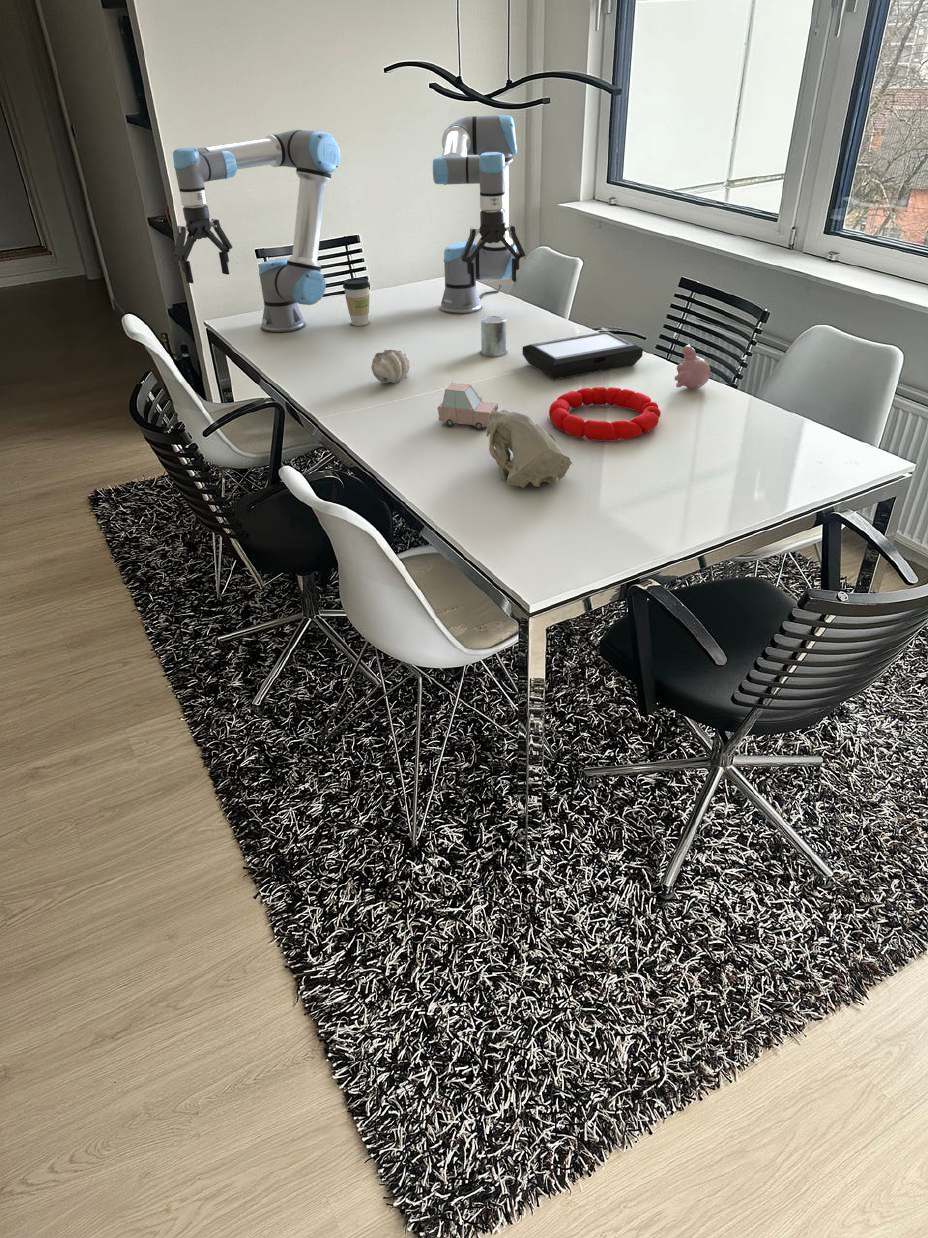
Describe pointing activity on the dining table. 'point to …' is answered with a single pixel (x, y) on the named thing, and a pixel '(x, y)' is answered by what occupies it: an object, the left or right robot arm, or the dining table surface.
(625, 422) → the decorative ring
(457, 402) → the toy car
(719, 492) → the dining table surface
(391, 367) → the seashell
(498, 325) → the canister
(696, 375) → the figurine
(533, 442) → the animal skull
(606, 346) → the electronic device
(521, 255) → the right robot arm
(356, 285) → the coffee cup
